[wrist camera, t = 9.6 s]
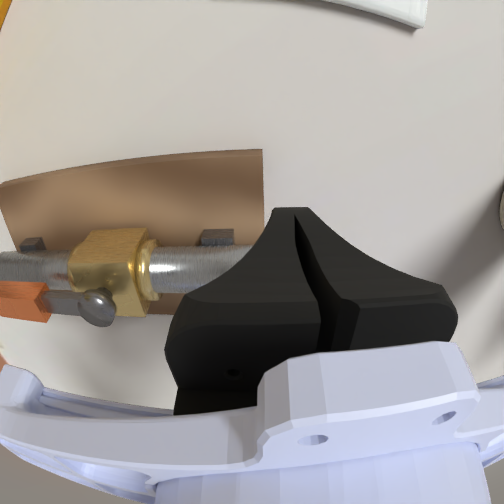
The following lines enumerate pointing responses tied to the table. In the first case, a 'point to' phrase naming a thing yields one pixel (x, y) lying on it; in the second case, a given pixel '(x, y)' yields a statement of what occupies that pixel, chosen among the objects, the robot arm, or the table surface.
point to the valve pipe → (125, 265)
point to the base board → (141, 202)
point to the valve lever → (55, 303)
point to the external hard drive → (392, 9)
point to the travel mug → (502, 211)
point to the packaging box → (3, 10)
